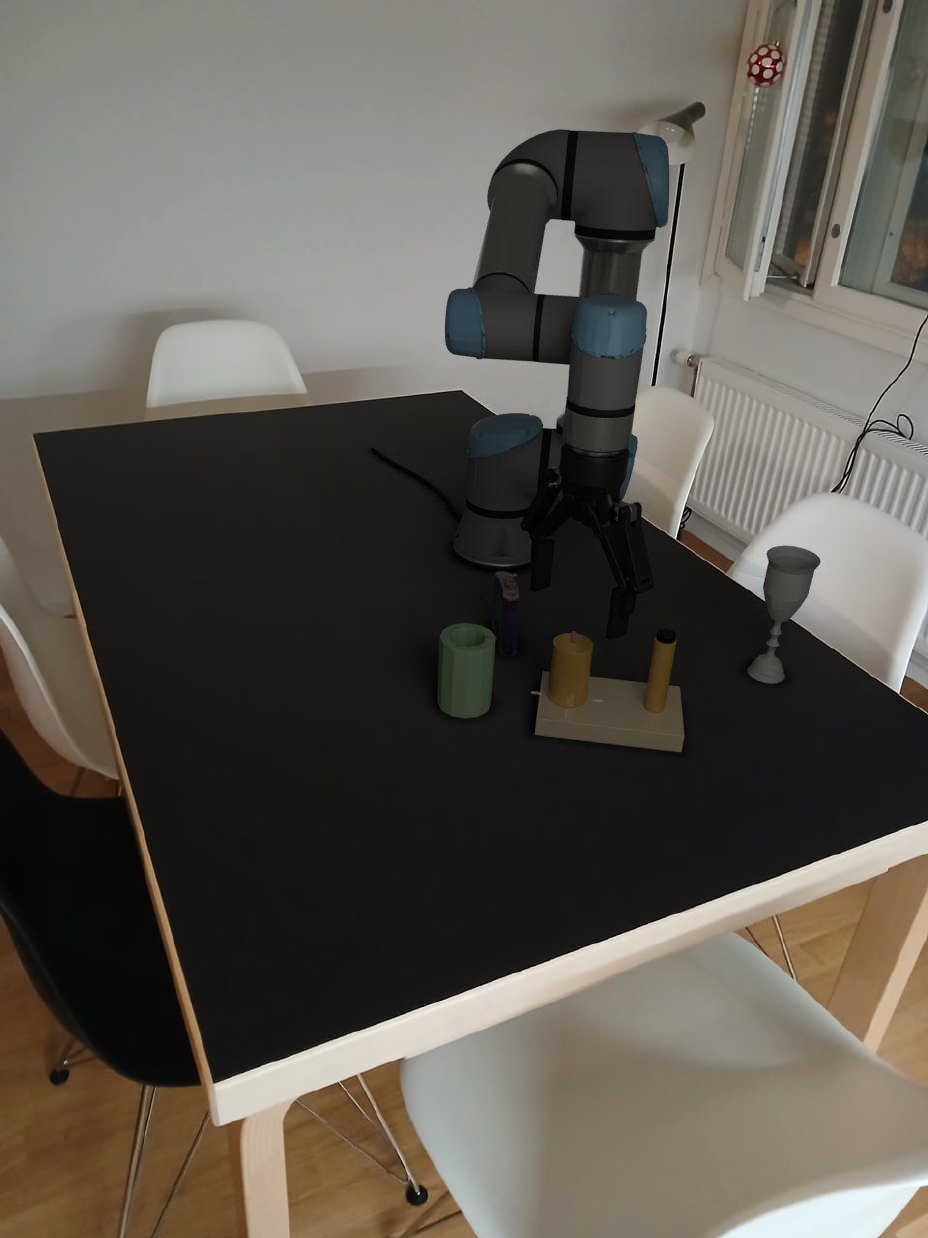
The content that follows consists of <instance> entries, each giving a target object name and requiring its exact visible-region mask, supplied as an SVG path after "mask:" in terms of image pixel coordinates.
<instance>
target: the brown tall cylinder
mask: <svg viewBox="0 0 928 1238" xmlns="http://www.w3.org/2000/svg"><path fill="white" fill-rule="evenodd" d="M676 645H677V633H676V631H674V630H672V629H668V628H660V629H658V630H657V631H656V635H655V637H654V641H653V645H652V646H653V647H652V653H651V659H650V664H649V665H650V666H649V671H648V677H647V682H646V683H647V689H646V695H645V701H644V708H645V709H646V710H647V711H649V712H652V713H661V712H663V711H664V709H665V703H666V698H667V692H668V686H669V685H670V680H671V676H672V669H673V663H674V658H675V652H676Z"/></svg>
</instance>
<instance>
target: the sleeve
mask: <svg viewBox="0 0 928 1238" xmlns="http://www.w3.org/2000/svg"><path fill="white" fill-rule="evenodd" d="M438 638H439V641H438V668H437V669H438V670H437V695H436V696H437V698H436V703H437V705H438V707H439V709H440V711H442V712H443V713H445V714H446V715H448V716H450V717H452V718H459V719H465V720H466V719H473V718H479V717H481V716H483V715H484V714H486V713H487V712H489V710H490V708H491V705H492V700H493V699H492V696H493V681H494V670H495V669H494V667H495V653H496V641H497V640H496V638H495V633H493V630H492V629H489V628H487V627H485V626H483V625H480V624H476V623H469V622H464V623H455V624H451V625H449V626H446V627H445V628H443V629H442V631H441V633H440V635H439V637H438Z"/></svg>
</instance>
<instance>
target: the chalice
mask: <svg viewBox="0 0 928 1238" xmlns="http://www.w3.org/2000/svg"><path fill="white" fill-rule="evenodd" d="M766 558H767V561H768V562H767V566H766V570H765V576H764V580H763V584H762V591H763V596H764V597H763V598H764V602H765V606H766V609H767V613H768V617H769V618H770V619H772V620H773V621H774V622H773V623H774V624H773V625H772V628H771V629H769V633H770V638H769V640H767V641H766V645H767V651H766V653H762V654H759V655H758V656H757V657H755V658H754V661H752V662H751V664H750V665H749V666H748V667H747V669H746V670H747V674H748V675H749V676H750V677H751V678H752V679H754V680H755V681H758V682H761V683H763V684H764V683H765V684H778V683H781V682H783V681H784V680H785V678H786V675H785V673H784V668H783V663H782V661H781V659H780V658H779V657H777V656H776V655H775V651H776V649H777V648H778V647H780V642H779V637H780V635H782V630H781V627H782V626H781V625H782V623H785V622H788V621H790V620H791V619H792V617H793V616H795V614H796V613H797V612H798V611H799V610H800V608H801V607H802V606H803V604H804V602H805V601H806V600H807V598H808V597H809V594H810V590H811V585H812V582H813V577H814V574H815V571H816V569H817V568H818V567H819V566H820V565H821V563H822V561H821V558H820V557H819V556H818V555H817V554H816V553H815V552H813V551H811V550H810V549H806V548H803V547H800V546H795V545H777V546H772V547H771V548H769V549H768V550H767V552H766Z"/></svg>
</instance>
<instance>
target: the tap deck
mask: <svg viewBox="0 0 928 1238" xmlns="http://www.w3.org/2000/svg"><path fill="white" fill-rule="evenodd" d="M549 675H550V671H544V670H543V671H542V675H541V682H540V688H539V689H540V690H539V691H536V690H535V691H534V690H531V692H530V694H532V695H538V704H537V711H536V716H535V717H536V719H535V726H534V727H535V728H534V735H535V736H540V737H550V738H557V739H566V740H574V741H582V742H583V741H584V742H592V743H598V744H599V743H600V744H606V745H607V744H609V745H614V746H615V745H616V746H625V747H633V748H640V749H641V748H642V749H650V750H657V751H665V752H666V751H667V752H674V753H675V752H676V753H682V751H683V746H684V741H685V727H684V715H683V703H682V695H681V686H678V685H670V684H669V686H668V692H667V698H666V703H665V709H664V711H663V712H661V713H652V712H649V711H647V710H646V709H645V708H644V701H645V695H646V689H647V683H648V682H643V681H633V680H626V679H616V678H607V677H599V676H598V677H597V676H590V677H589V685H588V693H587V700H586V702H585V703H584V704H583V705H581V706H579V707H574V708H566V707H561V706H558V705H556V704H554V703H552V702H551V701H550V700H549V698H548V685H549Z"/></svg>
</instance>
